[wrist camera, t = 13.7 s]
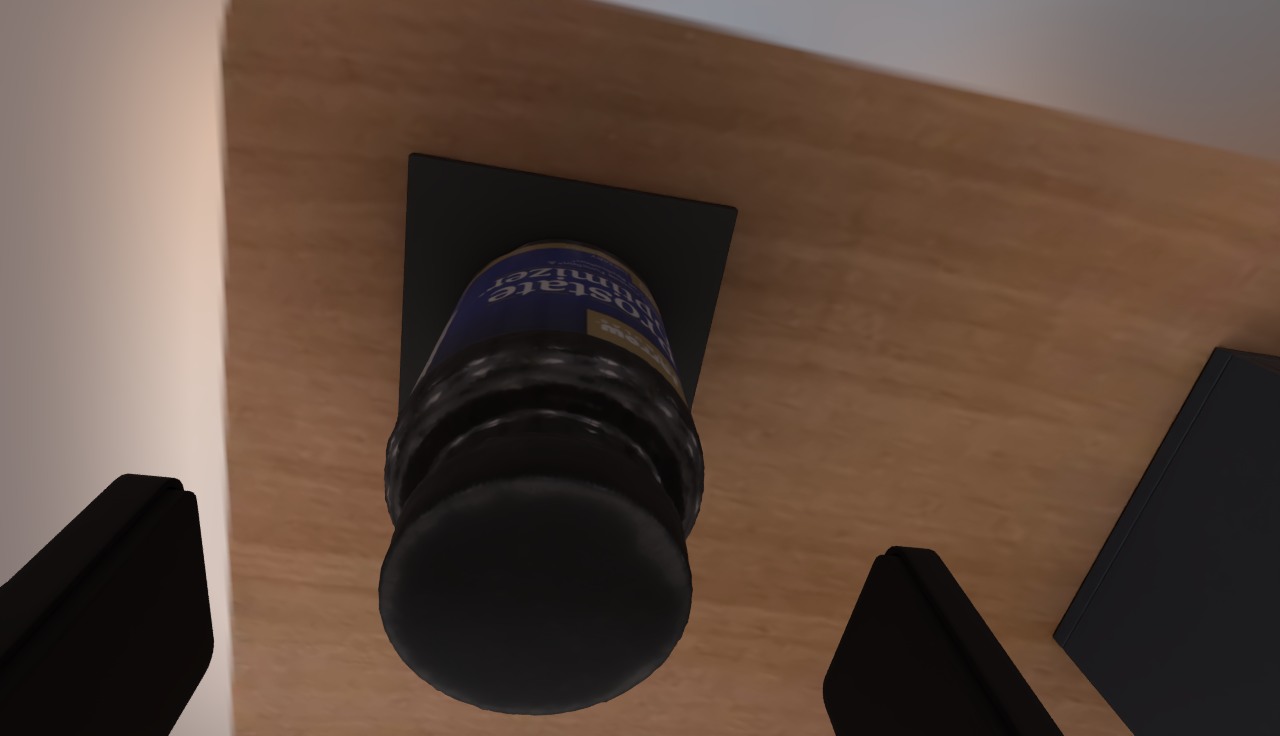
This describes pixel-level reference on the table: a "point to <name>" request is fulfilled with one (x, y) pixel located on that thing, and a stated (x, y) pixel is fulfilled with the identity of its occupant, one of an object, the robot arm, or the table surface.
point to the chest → (1195, 570)
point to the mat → (554, 209)
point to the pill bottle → (543, 489)
